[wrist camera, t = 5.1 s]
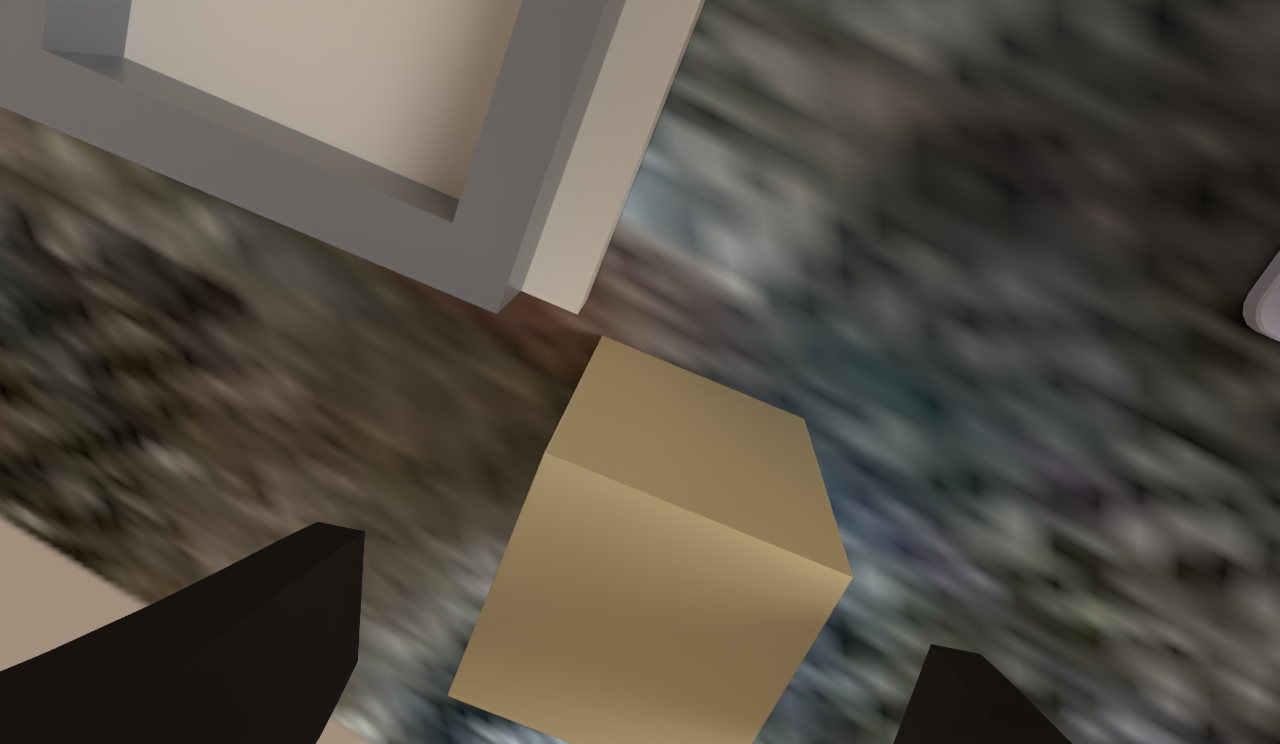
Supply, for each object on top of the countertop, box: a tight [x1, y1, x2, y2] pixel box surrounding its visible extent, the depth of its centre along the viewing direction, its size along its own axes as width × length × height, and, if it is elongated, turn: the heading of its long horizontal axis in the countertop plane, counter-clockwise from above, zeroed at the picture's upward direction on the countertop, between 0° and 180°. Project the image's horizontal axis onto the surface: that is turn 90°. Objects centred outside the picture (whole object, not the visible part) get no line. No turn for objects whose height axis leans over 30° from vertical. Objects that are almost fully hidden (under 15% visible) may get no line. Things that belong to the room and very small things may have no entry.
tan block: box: [448, 335, 853, 744], centre depth 12 cm, size 4×4×5 cm
